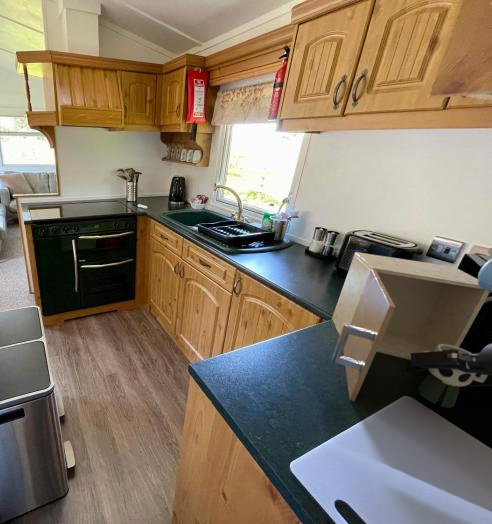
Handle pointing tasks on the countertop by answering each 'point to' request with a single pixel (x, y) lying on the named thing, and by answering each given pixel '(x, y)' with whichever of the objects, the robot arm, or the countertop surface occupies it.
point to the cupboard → (414, 302)
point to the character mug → (446, 381)
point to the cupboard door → (364, 333)
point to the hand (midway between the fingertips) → (436, 373)
